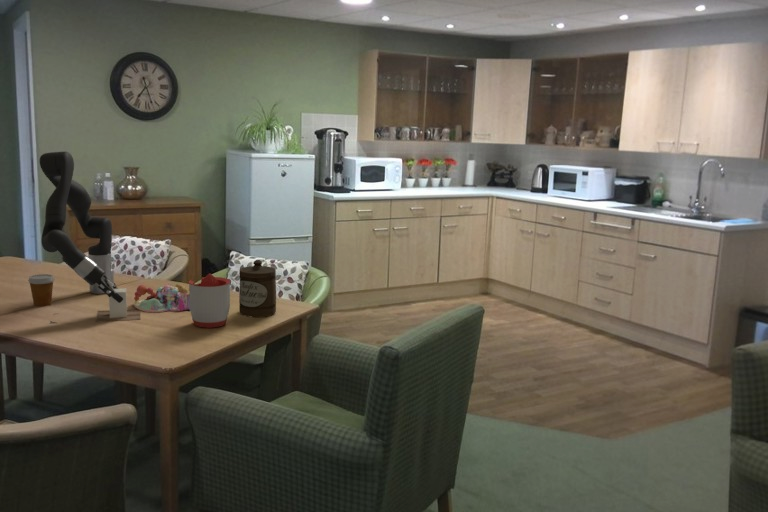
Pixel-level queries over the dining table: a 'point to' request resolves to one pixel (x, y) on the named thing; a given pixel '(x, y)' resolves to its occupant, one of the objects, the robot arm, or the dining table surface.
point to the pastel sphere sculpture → (163, 299)
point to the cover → (118, 304)
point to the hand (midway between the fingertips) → (121, 298)
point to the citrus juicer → (209, 301)
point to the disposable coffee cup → (41, 289)
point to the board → (105, 317)
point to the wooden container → (257, 290)
